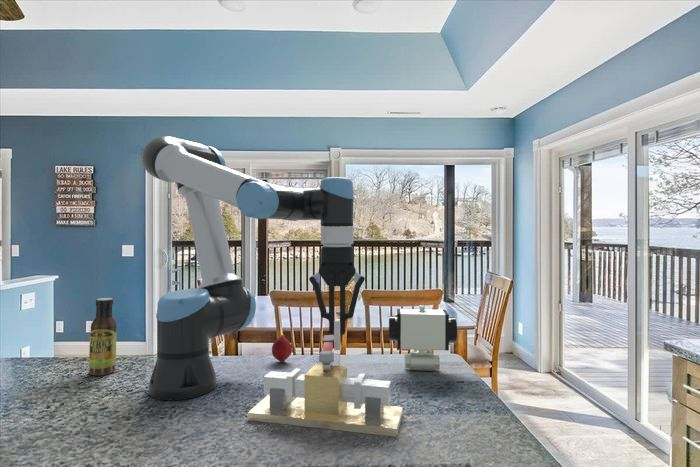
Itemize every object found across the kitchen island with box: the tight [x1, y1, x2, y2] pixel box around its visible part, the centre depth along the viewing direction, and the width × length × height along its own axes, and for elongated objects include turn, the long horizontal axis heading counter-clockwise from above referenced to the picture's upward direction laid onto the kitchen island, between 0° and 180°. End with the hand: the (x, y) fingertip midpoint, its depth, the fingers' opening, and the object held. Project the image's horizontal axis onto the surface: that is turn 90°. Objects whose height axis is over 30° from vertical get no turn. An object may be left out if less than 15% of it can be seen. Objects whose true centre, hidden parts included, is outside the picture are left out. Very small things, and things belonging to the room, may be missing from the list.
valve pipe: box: [247, 363, 404, 438], centre depth 86 cm, size 30×10×11 cm, turn 77°
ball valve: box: [388, 304, 458, 372], centre depth 116 cm, size 18×8×18 cm, turn 84°
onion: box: [271, 334, 293, 363], centre depth 122 cm, size 6×6×8 cm
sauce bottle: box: [88, 297, 118, 376], centre depth 113 cm, size 6×6×20 cm
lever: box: [318, 334, 335, 364], centre depth 93 cm, size 16×3×2 cm, turn 0°
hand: (337, 348), depth 97 cm, fingers closed
